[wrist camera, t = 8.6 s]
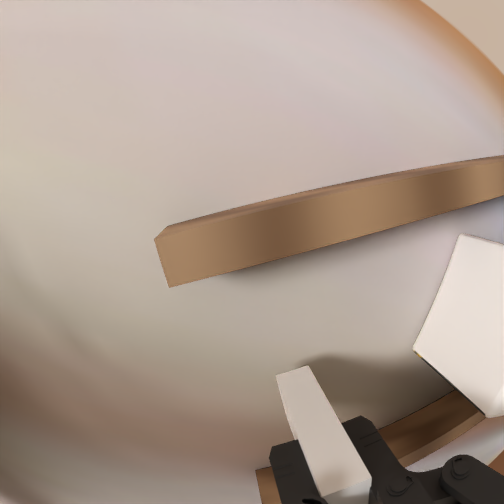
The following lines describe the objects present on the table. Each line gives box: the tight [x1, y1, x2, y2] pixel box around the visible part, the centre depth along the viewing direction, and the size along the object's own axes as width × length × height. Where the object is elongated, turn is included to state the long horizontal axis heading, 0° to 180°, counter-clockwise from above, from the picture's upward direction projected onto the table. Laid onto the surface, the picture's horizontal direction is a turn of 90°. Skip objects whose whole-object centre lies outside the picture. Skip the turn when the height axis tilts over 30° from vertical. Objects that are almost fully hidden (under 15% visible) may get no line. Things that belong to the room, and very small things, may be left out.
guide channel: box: [154, 155, 504, 504], centre depth 13 cm, size 20×17×3 cm
